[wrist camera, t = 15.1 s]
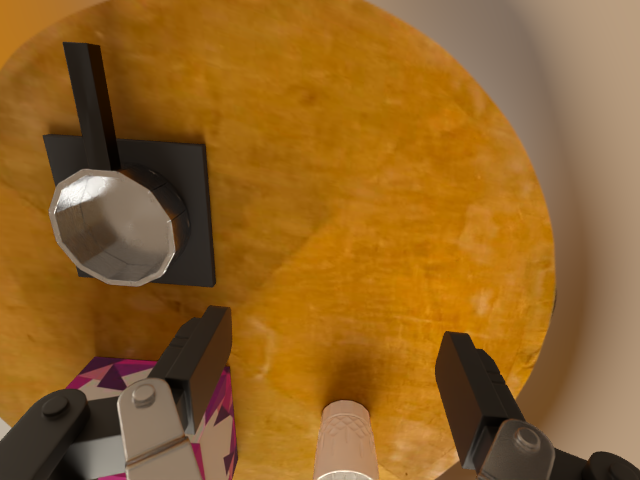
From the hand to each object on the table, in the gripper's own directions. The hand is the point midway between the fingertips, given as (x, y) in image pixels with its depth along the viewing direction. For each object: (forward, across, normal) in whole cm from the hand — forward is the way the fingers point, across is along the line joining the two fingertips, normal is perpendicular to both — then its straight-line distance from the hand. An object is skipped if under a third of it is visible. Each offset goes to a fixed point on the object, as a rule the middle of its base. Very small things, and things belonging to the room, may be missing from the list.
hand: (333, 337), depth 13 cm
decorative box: (+24, +21, +36) cm, 48 cm away
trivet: (+24, +22, +6) cm, 33 cm away
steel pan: (+23, +22, +1) cm, 32 cm away
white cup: (+24, -4, +34) cm, 41 cm away
